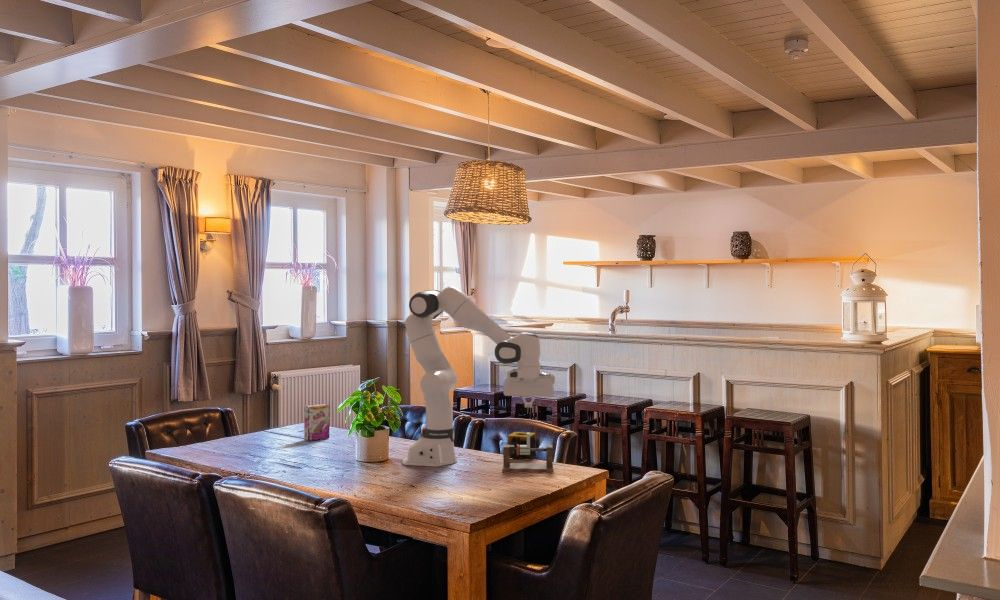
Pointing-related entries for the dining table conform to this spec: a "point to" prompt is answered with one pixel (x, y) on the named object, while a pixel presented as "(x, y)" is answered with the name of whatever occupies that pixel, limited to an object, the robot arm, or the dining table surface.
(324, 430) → the candy bar box
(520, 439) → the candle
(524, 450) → the sleeve
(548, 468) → the rod stand
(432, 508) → the dining table surface
